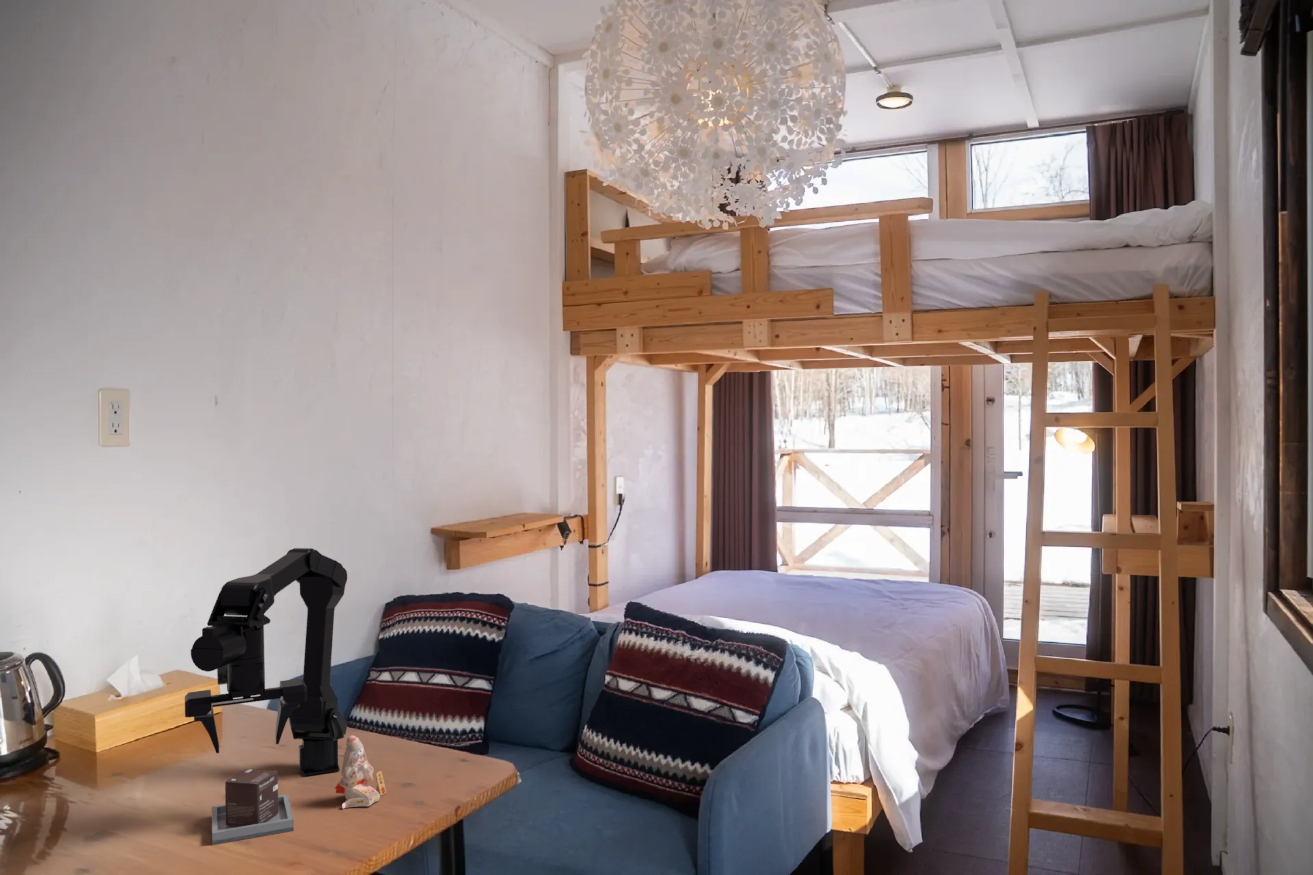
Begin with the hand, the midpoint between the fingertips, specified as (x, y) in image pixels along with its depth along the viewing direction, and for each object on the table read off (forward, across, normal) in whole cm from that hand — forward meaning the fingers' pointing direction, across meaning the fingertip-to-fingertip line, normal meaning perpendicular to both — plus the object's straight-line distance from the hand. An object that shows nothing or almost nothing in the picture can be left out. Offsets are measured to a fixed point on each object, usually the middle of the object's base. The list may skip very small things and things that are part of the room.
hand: (247, 747), depth 160 cm
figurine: (+12, -18, +2) cm, 22 cm away
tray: (+12, 0, +3) cm, 12 cm away
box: (+11, 0, +3) cm, 12 cm away
